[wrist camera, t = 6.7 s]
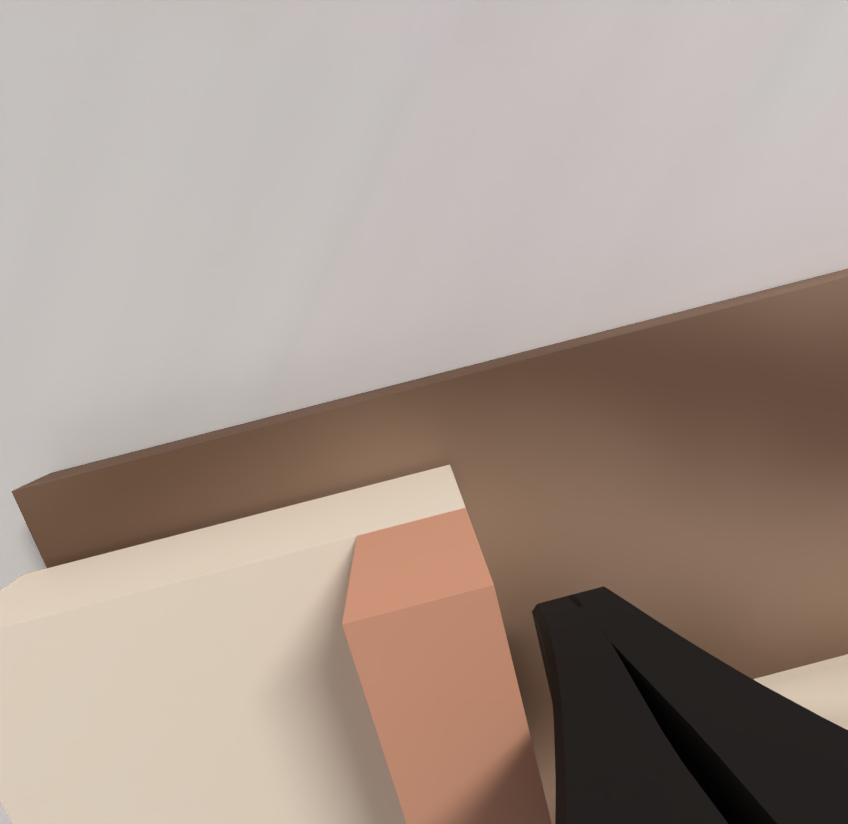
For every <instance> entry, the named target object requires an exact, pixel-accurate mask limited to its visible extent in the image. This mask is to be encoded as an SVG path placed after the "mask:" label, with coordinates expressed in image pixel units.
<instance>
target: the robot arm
mask: <svg viewBox="0 0 848 824" xmlns="http://www.w3.org/2000/svg"><path fill="white" fill-rule="evenodd" d="M532 615H533V619H534V624H535V628H536V632H537V637H538V641H539V646H540V650H541V655H542V659H543V663H544V668H545V672H546V677H547V681H548V686H549V690H550V694H551V699H552V705H553V717H554V743H555V773H556V811H555V824H848V730H847V729H845V728H843V727H841V726H839V725H837V724H835V723H833V722H831V721H829V720H827V719H825V718H823V717H821V716H819V715H817V714H816V713H814V712H812V711H810V710H808V709H806V708H804V707H803V706H801V705H799V704H797V703H795V702H793V701H792V700H790V699H788V698H786V697H784V696H782V695H780V694H779V693H777V692H775V691H773V690H771V689H769V688H767V687H766V686H764V685H762V684H760V683H759V682H757V681H755V680H753V679H752V678H750V677H748V676H746V675H745V674H743V673H741V672H740V671H738V670H736V669H735V668H733V667H731V666H730V665H728V664H726V663H725V662H723V661H721V660H720V659H718V658H716V657H715V656H713V655H711V654H710V653H708V652H706V651H705V650H703V649H701V648H700V647H698V646H696V645H695V644H693V643H691V642H690V641H688V640H687V639H685V638H683V637H682V636H680V635H679V634H677V633H675V632H674V631H672V630H671V629H669V628H668V627H666V626H665V625H663V624H661V623H660V622H658V621H657V620H655V619H654V618H652V617H651V616H649V615H648V614H646V613H644V612H643V611H641V610H640V609H638V608H637V607H635V606H634V605H632V604H631V603H629V602H628V601H626V600H625V599H623V598H622V597H620V596H618V595H617V594H615V593H614V592H612V591H611V590H609V589H607V588H606V587H604V586H603V587H599V588H596V589H592V590H588V591H584V592H580V593H576V594H573V595H569V596H565V597H561V598H557V599H553V600H550V601H546V602H542V603H538V604H537V605H536V606H535V608H534V609H533V611H532Z"/></svg>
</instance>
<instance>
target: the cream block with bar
mask: <svg viewBox="0 0 848 824" xmlns="http://www.w3.org/2000/svg"><path fill="white" fill-rule="evenodd" d="M0 802H1V804H2V806H3V807H4V809H5V811H6V813H7V815H8V817H9V818H10V820H11V822H12V824H552V823H551V819H550V814H549V810H548V806H547V802H546V798H545V794H544V790H543V785H542V781H541V777H540V773H539V769H538V765H537V761H536V757H535V752H534V748H533V744H532V740H531V736H530V732H529V728H528V723H527V719H526V715H525V711H524V707H523V703H522V699H521V695H520V690H519V686H518V682H517V678H516V674H515V670H514V666H513V662H512V657H511V653H510V649H509V645H508V641H507V637H506V633H505V628H504V624H503V620H502V616H501V612H500V608H499V604H498V600H497V595H496V591H495V587H494V584H493V581H492V578H491V575H490V573H489V570H488V567H487V565H486V562H485V559H484V556H483V554H482V551H481V548H480V545H479V543H478V540H477V537H476V534H475V532H474V529H473V526H472V524H471V521H470V518H469V515H468V513H467V510H466V507H465V504H464V502H463V499H462V496H461V493H460V491H459V488H458V485H457V483H456V480H455V477H454V474H453V472H452V469H451V466H450V465H446V466H442V467H438V468H434V469H431V470H427V471H423V472H419V473H415V474H411V475H407V476H403V477H400V478H396V479H392V480H388V481H384V482H380V483H376V484H372V485H368V486H365V487H361V488H357V489H353V490H349V491H345V492H341V493H337V494H334V495H330V496H326V497H322V498H318V499H314V500H310V501H306V502H303V503H299V504H295V505H291V506H287V507H283V508H279V509H275V510H272V511H268V512H264V513H260V514H256V515H252V516H248V517H244V518H241V519H237V520H233V521H229V522H225V523H221V524H217V525H213V526H210V527H206V528H202V529H198V530H194V531H190V532H186V533H182V534H179V535H175V536H171V537H167V538H163V539H159V540H155V541H151V542H147V543H144V544H140V545H136V546H132V547H128V548H124V549H120V550H116V551H113V552H109V553H105V554H101V555H97V556H93V557H89V558H85V559H82V560H78V561H74V562H70V563H66V564H62V565H58V566H54V567H51V568H47V569H43V570H39V571H35V572H31V573H27V574H23V575H22V576H21V577H19V578H18V579H16V580H15V581H13V582H12V583H11V584H9V585H8V586H6V587H5V588H4V589H2V590H1V591H0Z"/></svg>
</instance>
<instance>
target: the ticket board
mask: <svg viewBox="0 0 848 824" xmlns="http://www.w3.org/2000/svg"><path fill="white" fill-rule="evenodd" d="M446 465H450V466H451V469H452V472H453V474H454V477H455V480H456V483H457V485H458V488H459V491H460V493H461V496H462V499H463V502H464V504H465V507H466V510H467V513H468V515H469V518H470V521H471V524H472V526H473V529H474V532H475V534H476V537H477V540H478V543H479V545H480V548H481V551H482V554H483V556H484V559H485V562H486V565H487V567H488V570H489V573H490V575H491V578H492V581H493V584H494V587H495V591H496V595H497V600H498V604H499V608H500V612H501V616H502V620H503V624H504V628H505V633H506V637H507V641H508V645H509V649H510V653H511V657H512V662H513V666H514V670H515V674H516V678H517V682H518V686H519V690H520V695H521V699H522V703H523V707H524V711H525V715H526V719H527V723H528V728H529V732H530V736H531V740H532V744H533V748H534V752H535V757H536V761H537V765H538V769H539V773H540V777H541V781H542V785H543V790H544V794H545V798H546V802H547V806H548V810H549V814H550V819H551V823H552V824H555V811H556V773H555V743H554V717H553V705H552V699H551V694H550V690H549V686H548V681H547V677H546V672H545V668H544V663H543V659H542V655H541V650H540V646H539V641H538V637H537V632H536V628H535V624H534V619H533V615H532V611H533V609H534V608H535V606H536V605H537V604H538V603H542V602H546V601H550V600H553V599H557V598H561V597H565V596H569V595H573V594H576V593H580V592H584V591H588V590H592V589H596V588H599V587H603V586H604V587H606V588H607V589H609V590H611V591H612V592H614V593H615V594H617V595H618V596H620V597H622V598H623V599H625V600H626V601H628V602H629V603H631V604H632V605H634V606H635V607H637V608H638V609H640V610H641V611H643V612H644V613H646V614H648V615H649V616H651V617H652V618H654V619H655V620H657V621H658V622H660V623H661V624H663V625H665V626H666V627H668V628H669V629H671V630H672V631H674V632H675V633H677V634H679V635H680V636H682V637H683V638H685V639H687V640H688V641H690V642H691V643H693V644H695V645H696V646H698V647H700V648H701V649H703V650H705V651H706V652H708V653H710V654H711V655H713V656H715V657H716V658H718V659H720V660H721V661H723V662H725V663H726V664H728V665H730V666H731V667H733V668H735V669H736V670H738V671H740V672H741V673H743V674H745V675H746V676H748V677H750V678H752V679H753V680H755V681H757V682H759V683H760V684H762V685H764V686H766V687H767V688H769V689H771V690H773V691H775V692H777V693H779V694H780V695H782V696H784V697H786V698H788V699H790V700H792V701H793V702H795V703H797V704H799V705H801V706H803V707H804V708H806V709H808V710H810V711H812V712H814V713H816V714H817V715H819V716H821V717H823V718H825V719H827V720H829V721H831V722H833V723H835V724H837V725H839V726H841V727H843V728H845V729H847V730H848V269H846V270H842V271H838V272H834V273H830V274H826V275H822V276H818V277H814V278H810V279H807V280H803V281H799V282H795V283H791V284H787V285H783V286H779V287H775V288H771V289H767V290H764V291H760V292H756V293H752V294H748V295H744V296H740V297H736V298H732V299H728V300H725V301H721V302H717V303H713V304H709V305H705V306H701V307H697V308H693V309H689V310H686V311H682V312H678V313H674V314H670V315H666V316H662V317H658V318H654V319H650V320H647V321H643V322H639V323H635V324H631V325H627V326H623V327H619V328H615V329H611V330H607V331H604V332H600V333H596V334H592V335H588V336H584V337H580V338H576V339H572V340H568V341H565V342H561V343H557V344H553V345H549V346H545V347H541V348H537V349H533V350H529V351H526V352H522V353H518V354H514V355H510V356H506V357H502V358H498V359H494V360H490V361H487V362H483V363H479V364H475V365H471V366H467V367H463V368H459V369H455V370H451V371H447V372H444V373H440V374H436V375H432V376H428V377H424V378H420V379H416V380H412V381H408V382H405V383H401V384H397V385H393V386H389V387H385V388H381V389H377V390H373V391H369V392H366V393H362V394H358V395H354V396H350V397H346V398H342V399H338V400H334V401H330V402H326V403H323V404H319V405H315V406H311V407H307V408H303V409H299V410H295V411H291V412H287V413H284V414H280V415H276V416H272V417H268V418H264V419H260V420H256V421H252V422H248V423H245V424H241V425H237V426H233V427H229V428H225V429H221V430H217V431H213V432H209V433H206V434H202V435H198V436H194V437H190V438H186V439H182V440H178V441H174V442H170V443H166V444H163V445H159V446H155V447H151V448H147V449H143V450H139V451H135V452H131V453H127V454H124V455H120V456H116V457H112V458H108V459H104V460H100V461H96V462H92V463H88V464H85V465H81V466H77V467H73V468H69V469H65V470H61V471H57V472H53V473H50V474H48V475H46V476H43V477H41V478H39V479H37V480H35V481H33V482H31V483H29V484H26V485H24V486H22V487H20V488H18V489H16V490H14V491H12V493H13V495H14V497H15V500H16V502H17V504H18V506H19V508H20V511H21V513H22V515H23V517H24V519H25V521H26V524H27V526H28V528H29V530H30V532H31V534H32V537H33V539H34V541H35V543H36V545H37V547H38V550H39V552H40V554H41V556H42V558H43V560H44V563H45V565H46V567H47V568H51V567H54V566H58V565H62V564H66V563H70V562H74V561H78V560H82V559H85V558H89V557H93V556H97V555H101V554H105V553H109V552H113V551H116V550H120V549H124V548H128V547H132V546H136V545H140V544H144V543H147V542H151V541H155V540H159V539H163V538H167V537H171V536H175V535H179V534H182V533H186V532H190V531H194V530H198V529H202V528H206V527H210V526H213V525H217V524H221V523H225V522H229V521H233V520H237V519H241V518H244V517H248V516H252V515H256V514H260V513H264V512H268V511H272V510H275V509H279V508H283V507H287V506H291V505H295V504H299V503H303V502H306V501H310V500H314V499H318V498H322V497H326V496H330V495H334V494H337V493H341V492H345V491H349V490H353V489H357V488H361V487H365V486H368V485H372V484H376V483H380V482H384V481H388V480H392V479H396V478H400V477H403V476H407V475H411V474H415V473H419V472H423V471H427V470H431V469H434V468H438V467H442V466H446Z"/></svg>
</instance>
